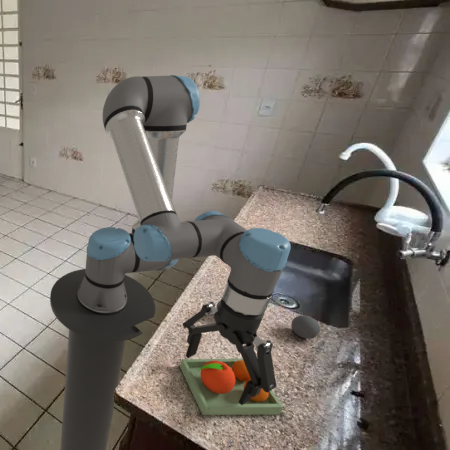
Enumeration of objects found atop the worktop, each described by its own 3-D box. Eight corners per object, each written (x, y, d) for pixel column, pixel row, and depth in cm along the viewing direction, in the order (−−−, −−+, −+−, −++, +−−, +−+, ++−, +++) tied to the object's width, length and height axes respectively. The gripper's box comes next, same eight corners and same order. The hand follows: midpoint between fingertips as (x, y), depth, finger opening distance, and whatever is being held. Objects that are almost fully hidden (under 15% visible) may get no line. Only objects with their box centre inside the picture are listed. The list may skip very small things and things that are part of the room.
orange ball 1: (225, 373, 84) (230, 360, 81) (237, 366, 85) (242, 353, 83) (243, 388, 80) (249, 375, 78) (255, 380, 82) (262, 367, 80)
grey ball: (283, 331, 96) (291, 315, 93) (295, 324, 98) (303, 307, 96) (307, 346, 91) (315, 329, 88) (319, 338, 94) (328, 321, 91)
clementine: (197, 397, 78) (204, 376, 75) (189, 371, 84) (195, 351, 81) (235, 402, 77) (244, 381, 74) (224, 376, 83) (232, 355, 80)
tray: (202, 414, 75) (205, 407, 74) (179, 366, 86) (181, 359, 85) (279, 414, 75) (283, 406, 74) (246, 365, 86) (249, 358, 85)
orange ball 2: (236, 393, 79) (242, 379, 77) (249, 385, 81) (255, 371, 79) (256, 410, 75) (263, 396, 73) (269, 401, 77) (276, 387, 75)
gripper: (325, 340, 60) (282, 416, 70) (202, 266, 80) (182, 333, 90) (299, 356, 57) (259, 433, 67) (178, 275, 77) (161, 344, 87)
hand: (215, 376), depth 79 cm, fingers open, 13 cm apart
